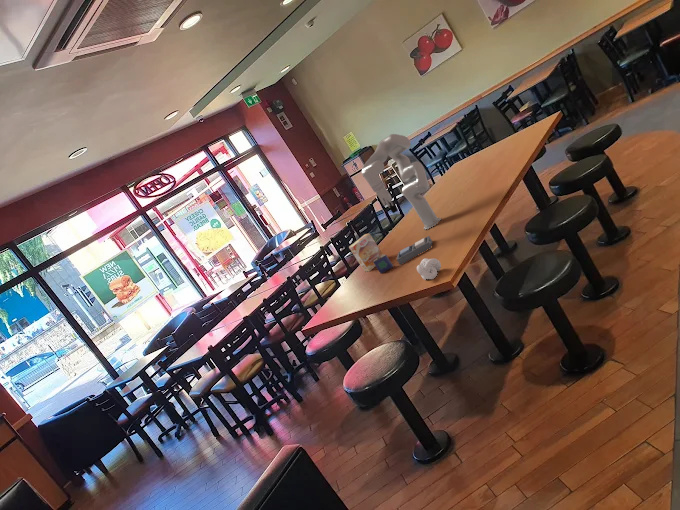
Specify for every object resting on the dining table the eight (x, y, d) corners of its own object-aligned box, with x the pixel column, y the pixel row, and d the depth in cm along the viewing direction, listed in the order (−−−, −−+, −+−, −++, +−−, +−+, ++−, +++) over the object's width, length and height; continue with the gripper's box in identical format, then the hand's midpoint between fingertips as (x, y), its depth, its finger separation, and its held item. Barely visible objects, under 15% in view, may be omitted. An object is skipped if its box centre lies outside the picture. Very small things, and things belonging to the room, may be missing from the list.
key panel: (401, 257, 310) (398, 252, 309) (432, 241, 303) (428, 235, 302) (400, 265, 299) (396, 259, 298) (431, 248, 292) (428, 242, 291)
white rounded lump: (439, 279, 243) (429, 263, 241) (419, 287, 250) (409, 272, 248) (446, 267, 251) (436, 252, 250) (426, 275, 259) (416, 260, 257)
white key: (417, 247, 302) (415, 242, 302) (426, 242, 300) (424, 237, 300) (417, 250, 297) (414, 246, 296) (426, 245, 295) (423, 241, 294)
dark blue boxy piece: (394, 265, 305) (384, 251, 303) (393, 267, 303) (383, 253, 301) (381, 272, 309) (371, 258, 307) (380, 274, 306) (370, 260, 304)
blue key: (403, 254, 306) (400, 250, 305) (411, 250, 304) (409, 246, 303) (402, 258, 300) (399, 254, 300) (411, 253, 298) (408, 249, 298)
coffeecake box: (369, 271, 326) (352, 246, 322) (364, 271, 333) (347, 247, 329) (386, 257, 331) (369, 232, 327) (380, 258, 338) (364, 233, 334)
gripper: (374, 186, 310) (391, 210, 314) (371, 193, 296) (389, 218, 301) (384, 179, 307) (401, 204, 312) (382, 186, 294) (400, 212, 298)
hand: (395, 211), depth 306 cm, fingers closed
